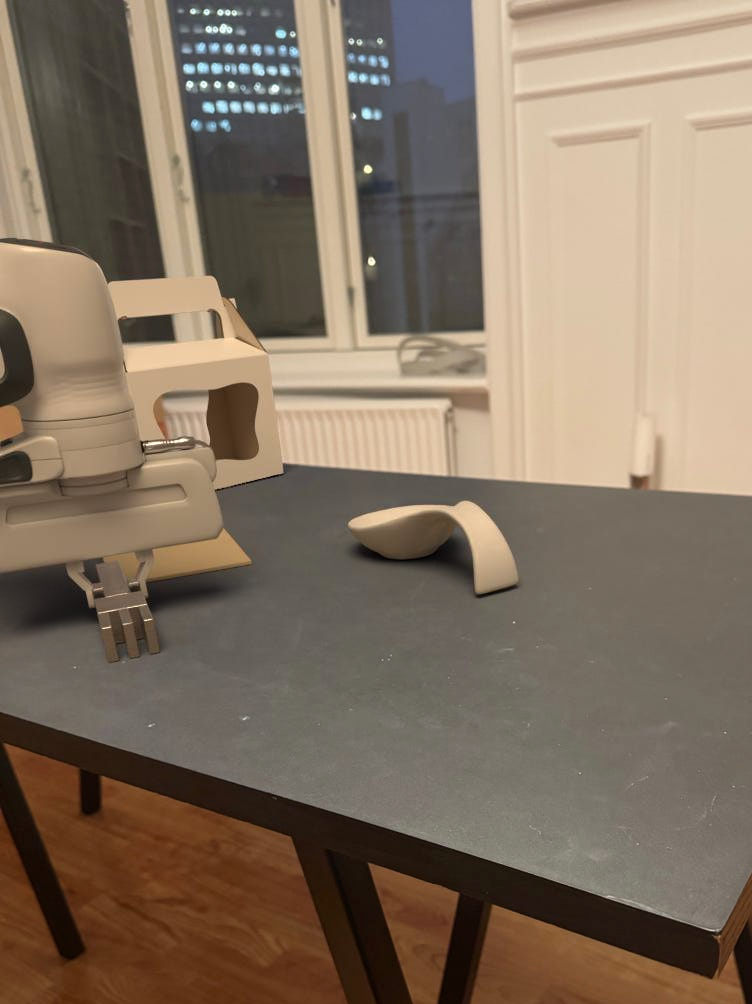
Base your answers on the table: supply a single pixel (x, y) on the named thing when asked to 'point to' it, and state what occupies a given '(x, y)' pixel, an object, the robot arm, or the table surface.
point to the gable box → (205, 375)
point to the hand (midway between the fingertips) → (118, 601)
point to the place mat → (187, 559)
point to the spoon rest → (440, 538)
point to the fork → (123, 613)
